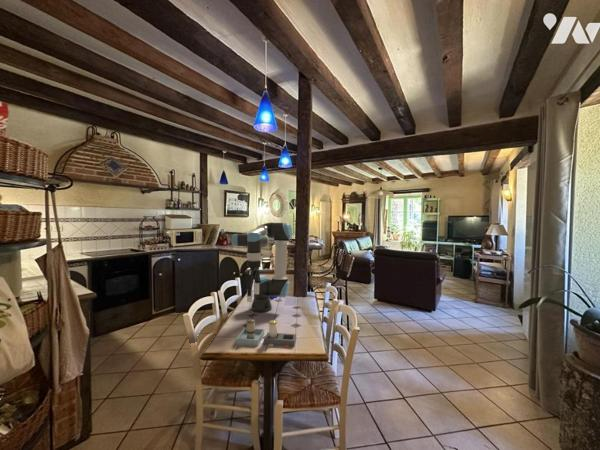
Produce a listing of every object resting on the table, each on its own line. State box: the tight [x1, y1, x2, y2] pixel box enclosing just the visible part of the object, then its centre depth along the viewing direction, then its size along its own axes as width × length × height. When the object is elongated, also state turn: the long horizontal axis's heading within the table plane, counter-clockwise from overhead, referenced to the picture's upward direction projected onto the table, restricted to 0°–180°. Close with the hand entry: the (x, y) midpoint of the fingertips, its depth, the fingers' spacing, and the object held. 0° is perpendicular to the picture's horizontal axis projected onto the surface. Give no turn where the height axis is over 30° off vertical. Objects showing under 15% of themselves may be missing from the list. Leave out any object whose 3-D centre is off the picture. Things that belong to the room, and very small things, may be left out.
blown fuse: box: [246, 318, 256, 339], centre depth 142 cm, size 4×4×10 cm
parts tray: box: [235, 327, 265, 347], centre depth 142 cm, size 14×12×3 cm
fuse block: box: [263, 331, 297, 348], centre depth 139 cm, size 9×16×3 cm, turn 84°
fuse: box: [268, 319, 278, 339], centre depth 140 cm, size 4×4×10 cm
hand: (253, 297), depth 143 cm, fingers open, 13 cm apart
